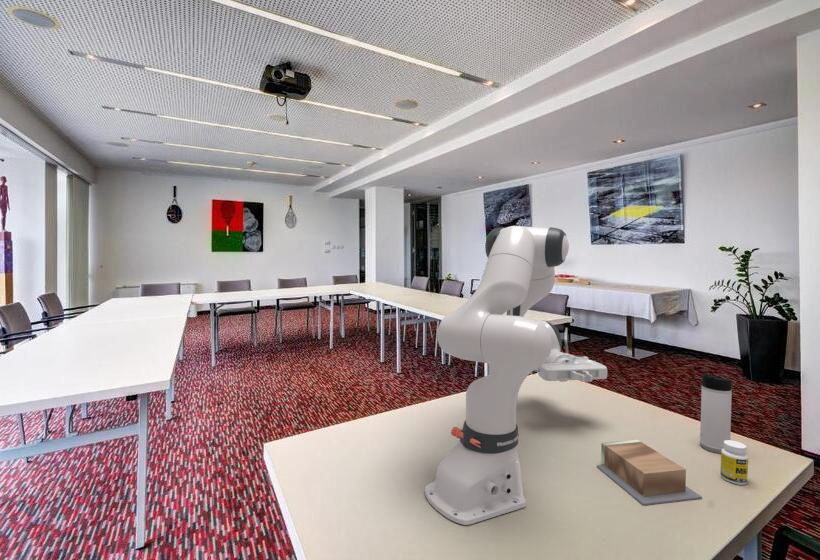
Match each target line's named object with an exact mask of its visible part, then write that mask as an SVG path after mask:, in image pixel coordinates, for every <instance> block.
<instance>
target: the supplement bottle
mask: <svg viewBox="0 0 820 560" xmlns="http://www.w3.org/2000/svg"><path fill="white" fill-rule="evenodd" d="M747 452H748V450H747V445H745V443H742V442H739V441H736V440H731V439H730V440H725V441H724V448H723V449H722V450H721V454H720V474H719V475H720V477H721V478H722V479H723V480H725V481H726V482H729V483H731V484H735V485H739V486H743V485H746V484H748V473H749V471H748V470H749V456H748V454H747Z"/></svg>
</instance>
